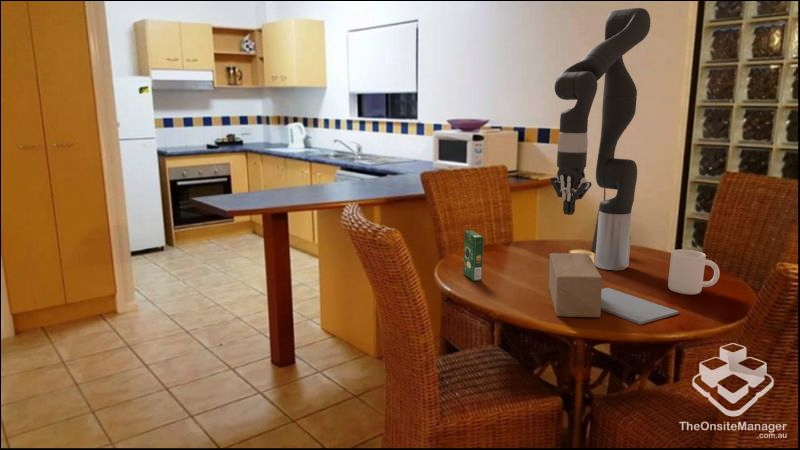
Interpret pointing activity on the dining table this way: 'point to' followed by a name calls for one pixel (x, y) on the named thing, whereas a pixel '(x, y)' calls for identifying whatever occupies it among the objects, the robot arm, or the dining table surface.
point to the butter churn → (596, 231)
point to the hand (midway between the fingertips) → (568, 214)
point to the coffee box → (473, 255)
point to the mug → (689, 271)
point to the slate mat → (632, 307)
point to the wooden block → (575, 285)
